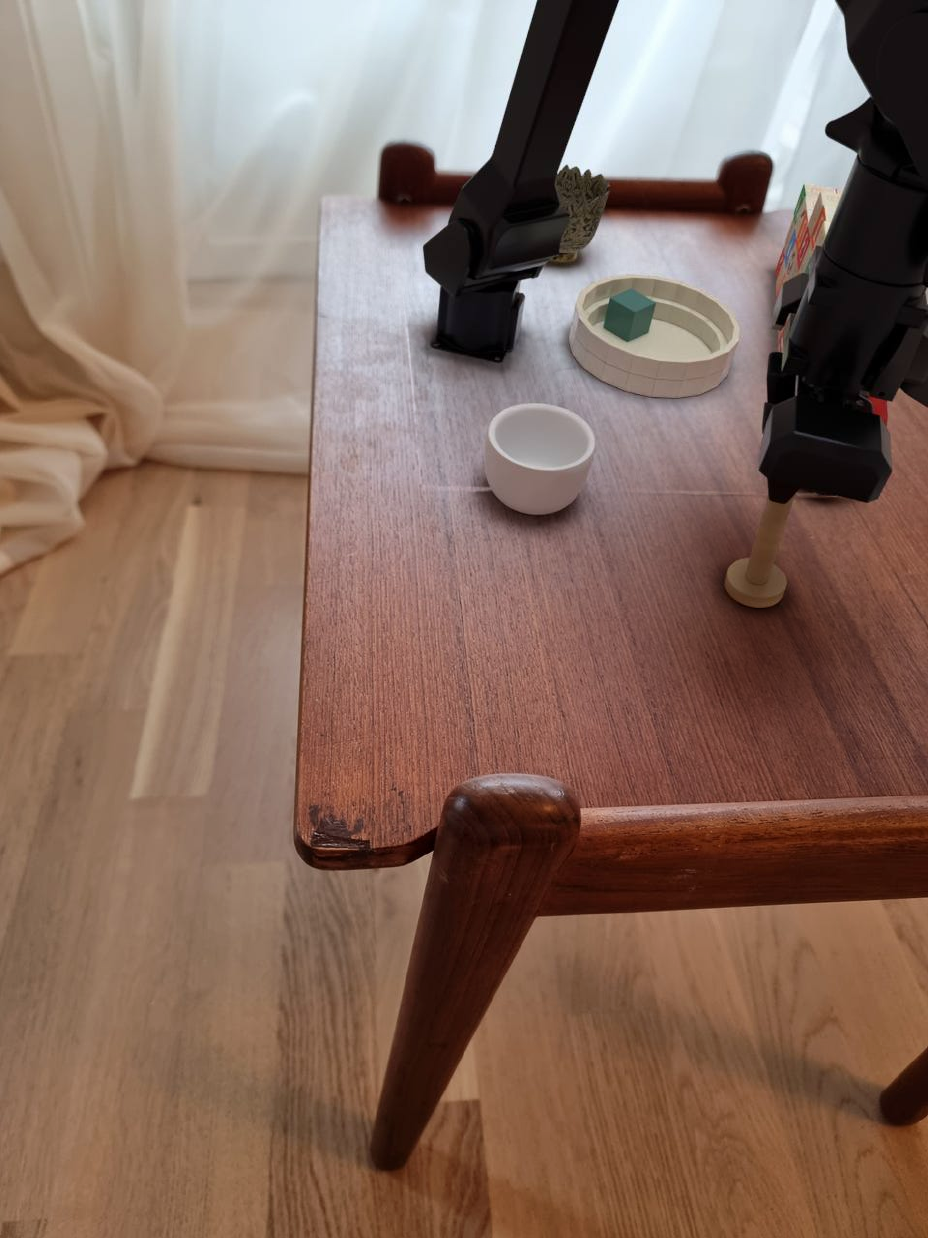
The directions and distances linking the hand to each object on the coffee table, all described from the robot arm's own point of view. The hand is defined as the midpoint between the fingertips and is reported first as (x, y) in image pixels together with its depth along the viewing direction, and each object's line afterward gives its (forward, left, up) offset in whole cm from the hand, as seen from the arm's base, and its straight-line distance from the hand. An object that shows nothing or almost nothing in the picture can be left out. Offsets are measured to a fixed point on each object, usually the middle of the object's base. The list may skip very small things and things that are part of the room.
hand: (777, 492), depth 62 cm
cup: (-21, +41, -9) cm, 47 cm away
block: (-12, +30, -8) cm, 33 cm away
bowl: (-10, +27, -8) cm, 30 cm away
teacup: (-16, +5, -9) cm, 19 cm away
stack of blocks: (+4, +38, -9) cm, 39 cm away
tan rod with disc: (+1, 0, -8) cm, 8 cm away
